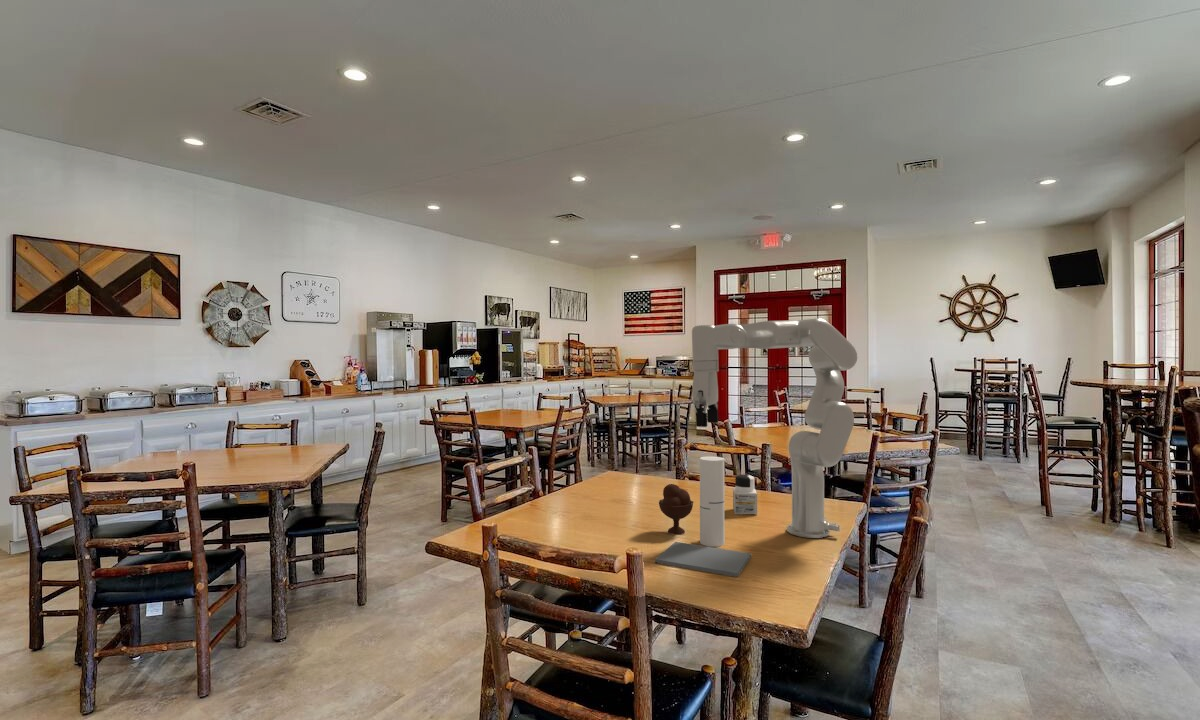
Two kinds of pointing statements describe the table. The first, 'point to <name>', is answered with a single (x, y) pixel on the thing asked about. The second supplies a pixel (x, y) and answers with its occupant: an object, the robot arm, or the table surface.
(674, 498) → the ice cream bowl
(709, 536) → the cylindrical container
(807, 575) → the table surface
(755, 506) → the container
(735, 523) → the table surface
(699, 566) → the board
